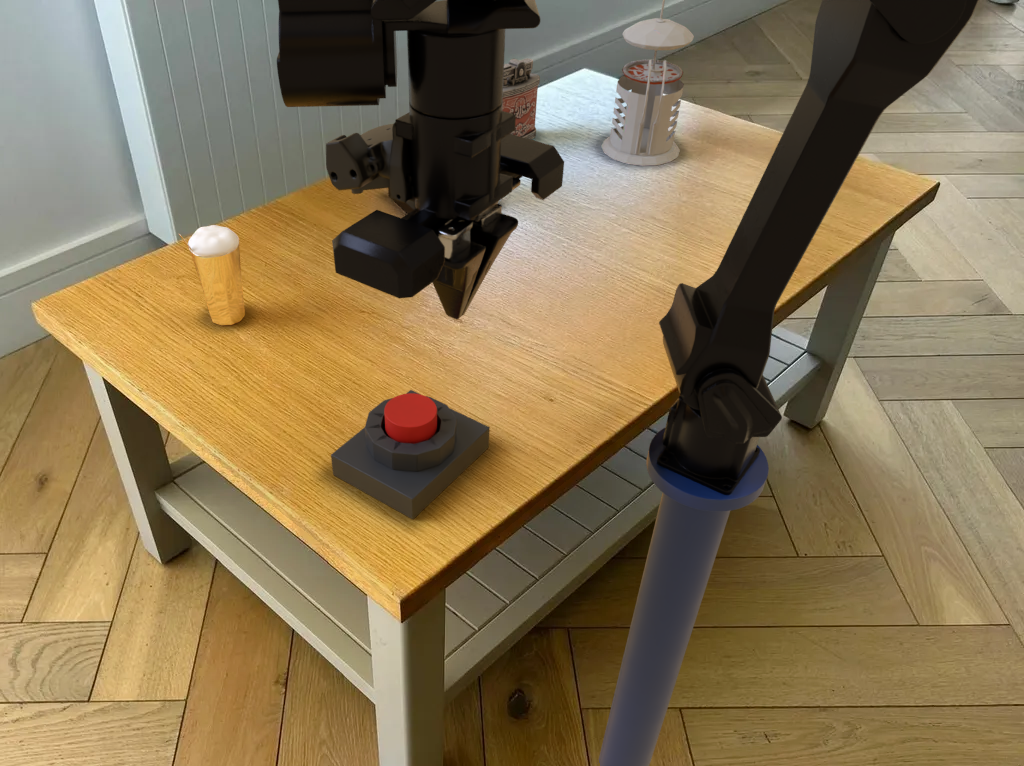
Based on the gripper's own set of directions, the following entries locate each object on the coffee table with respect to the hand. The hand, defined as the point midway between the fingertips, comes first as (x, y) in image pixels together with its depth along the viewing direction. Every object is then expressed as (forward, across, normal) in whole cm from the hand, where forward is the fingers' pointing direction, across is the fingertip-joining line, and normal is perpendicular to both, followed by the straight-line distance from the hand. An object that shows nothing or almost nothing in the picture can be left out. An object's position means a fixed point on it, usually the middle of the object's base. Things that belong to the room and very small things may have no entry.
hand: (455, 315), depth 65 cm
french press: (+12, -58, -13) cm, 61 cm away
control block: (+12, +4, -1) cm, 13 cm away
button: (+9, +4, -1) cm, 10 cm away
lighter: (+12, -51, -28) cm, 60 cm away
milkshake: (+12, -1, -28) cm, 31 cm away
